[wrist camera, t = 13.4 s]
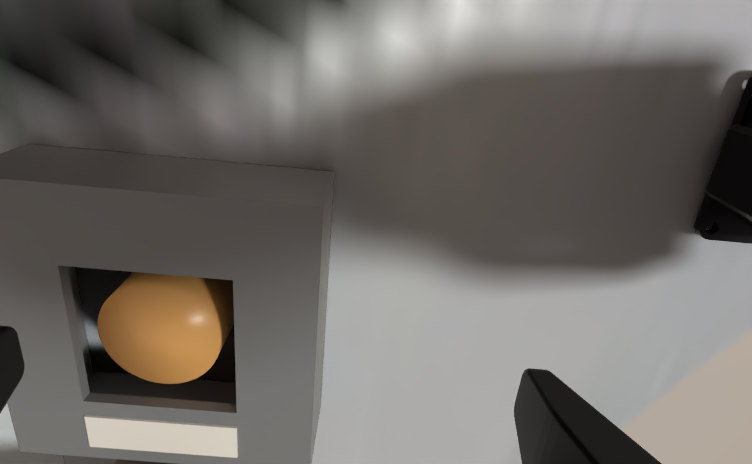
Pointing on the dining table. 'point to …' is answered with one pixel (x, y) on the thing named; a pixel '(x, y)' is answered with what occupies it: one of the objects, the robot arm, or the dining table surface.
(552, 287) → the dining table surface
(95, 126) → the dining table surface
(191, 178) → the box
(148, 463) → the long wooden beam
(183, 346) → the button
